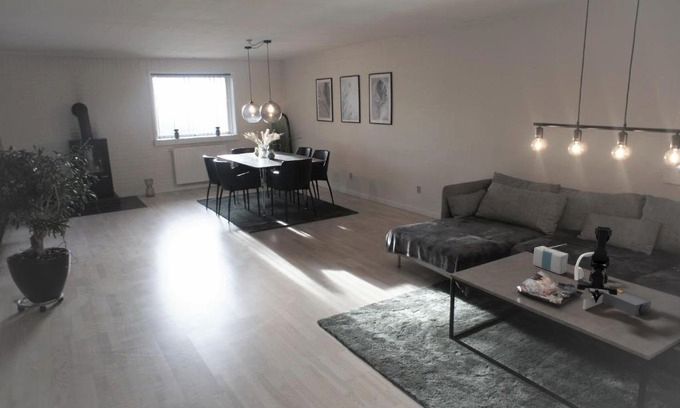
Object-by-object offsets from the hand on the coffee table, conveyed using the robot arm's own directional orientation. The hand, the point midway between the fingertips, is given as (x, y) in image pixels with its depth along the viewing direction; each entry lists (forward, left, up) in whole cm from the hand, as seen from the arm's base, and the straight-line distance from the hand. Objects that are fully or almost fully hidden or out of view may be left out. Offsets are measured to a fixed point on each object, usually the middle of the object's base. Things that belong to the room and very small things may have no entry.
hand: (595, 303), depth 249 cm
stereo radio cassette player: (-53, +24, -4) cm, 59 cm away
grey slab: (+5, +16, -3) cm, 17 cm away
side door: (-3, +1, -3) cm, 4 cm away
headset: (-30, +32, -4) cm, 45 cm away
